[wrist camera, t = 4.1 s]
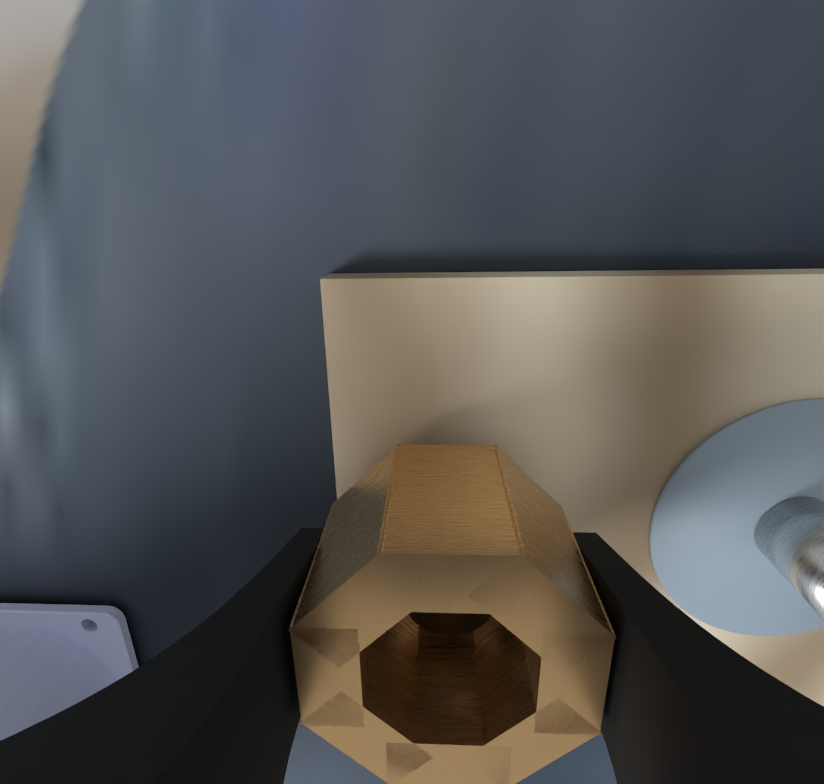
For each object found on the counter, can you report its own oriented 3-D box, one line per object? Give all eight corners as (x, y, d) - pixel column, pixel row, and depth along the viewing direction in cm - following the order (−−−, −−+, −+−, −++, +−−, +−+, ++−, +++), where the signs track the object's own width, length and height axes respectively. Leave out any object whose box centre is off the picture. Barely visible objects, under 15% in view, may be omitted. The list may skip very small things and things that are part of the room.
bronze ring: (342, 628, 14) (307, 782, 10) (327, 442, 12) (277, 550, 8) (549, 632, 14) (591, 793, 10) (568, 444, 12) (629, 555, 8)
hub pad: (631, 627, 15) (633, 633, 15) (671, 396, 12) (675, 400, 12) (890, 634, 14) (896, 639, 14) (985, 397, 12) (994, 401, 12)
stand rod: (411, 549, 14) (404, 634, 11) (410, 487, 14) (403, 561, 11) (483, 550, 14) (493, 637, 11) (485, 488, 13) (498, 563, 11)
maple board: (356, 664, 17) (351, 690, 16) (328, 273, 13) (319, 279, 12) (816, 678, 16) (840, 706, 15) (961, 267, 12) (1006, 272, 11)
